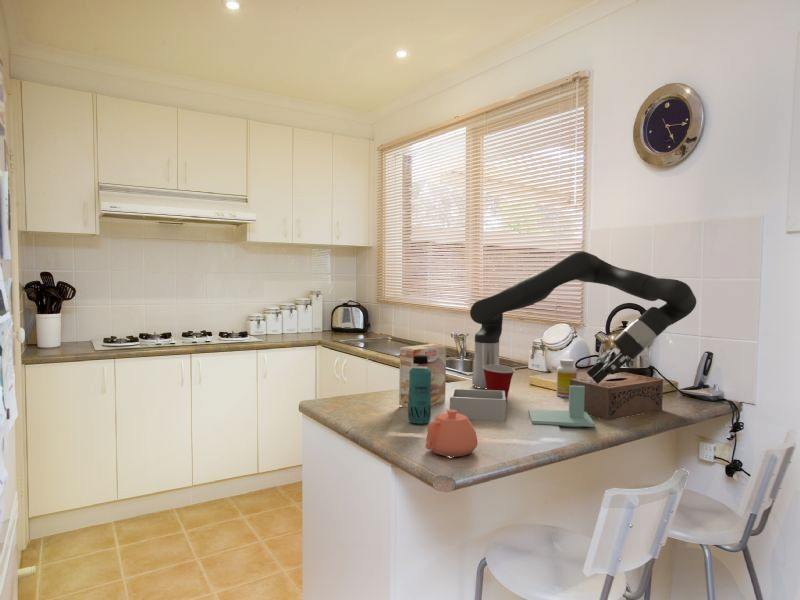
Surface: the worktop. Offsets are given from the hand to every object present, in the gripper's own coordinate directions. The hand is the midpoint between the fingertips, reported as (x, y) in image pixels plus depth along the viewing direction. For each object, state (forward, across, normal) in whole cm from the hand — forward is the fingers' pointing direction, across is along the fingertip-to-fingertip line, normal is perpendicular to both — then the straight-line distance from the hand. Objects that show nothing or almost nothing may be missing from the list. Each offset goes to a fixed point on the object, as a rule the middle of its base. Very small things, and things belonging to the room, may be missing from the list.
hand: (591, 378), depth 151 cm
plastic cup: (+28, -21, -9) cm, 36 cm away
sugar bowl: (+37, +32, -18) cm, 52 cm away
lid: (+15, 0, +3) cm, 15 cm away
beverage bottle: (+43, +11, -25) cm, 51 cm away
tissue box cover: (+2, -18, +17) cm, 25 cm away
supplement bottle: (+11, -35, +8) cm, 37 cm away
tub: (+32, -1, -14) cm, 35 cm away
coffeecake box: (+45, -12, -26) cm, 53 cm away
